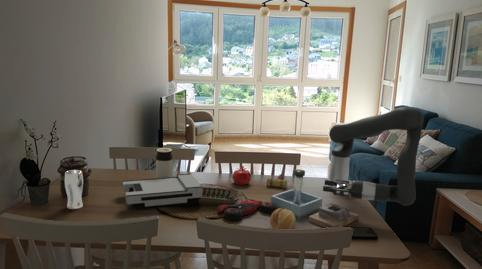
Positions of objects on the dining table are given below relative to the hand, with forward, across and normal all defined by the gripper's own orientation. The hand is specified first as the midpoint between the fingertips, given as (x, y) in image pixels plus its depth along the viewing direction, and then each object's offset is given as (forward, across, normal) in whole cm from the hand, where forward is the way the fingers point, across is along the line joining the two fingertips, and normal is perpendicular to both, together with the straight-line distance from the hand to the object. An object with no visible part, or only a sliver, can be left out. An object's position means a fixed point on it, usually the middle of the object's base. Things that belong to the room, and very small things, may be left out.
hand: (323, 185), depth 167 cm
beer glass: (+99, +35, +12) cm, 106 cm away
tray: (+11, 0, +12) cm, 16 cm away
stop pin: (+11, 0, +11) cm, 16 cm away
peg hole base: (-6, +7, +12) cm, 15 cm away
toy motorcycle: (+31, +12, +13) cm, 36 cm away
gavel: (+25, -33, +13) cm, 44 cm away
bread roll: (+13, +24, +12) cm, 30 cm away
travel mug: (+78, -5, +12) cm, 80 cm away
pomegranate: (+43, -23, +12) cm, 50 cm away
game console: (+70, +14, +13) cm, 72 cm away
